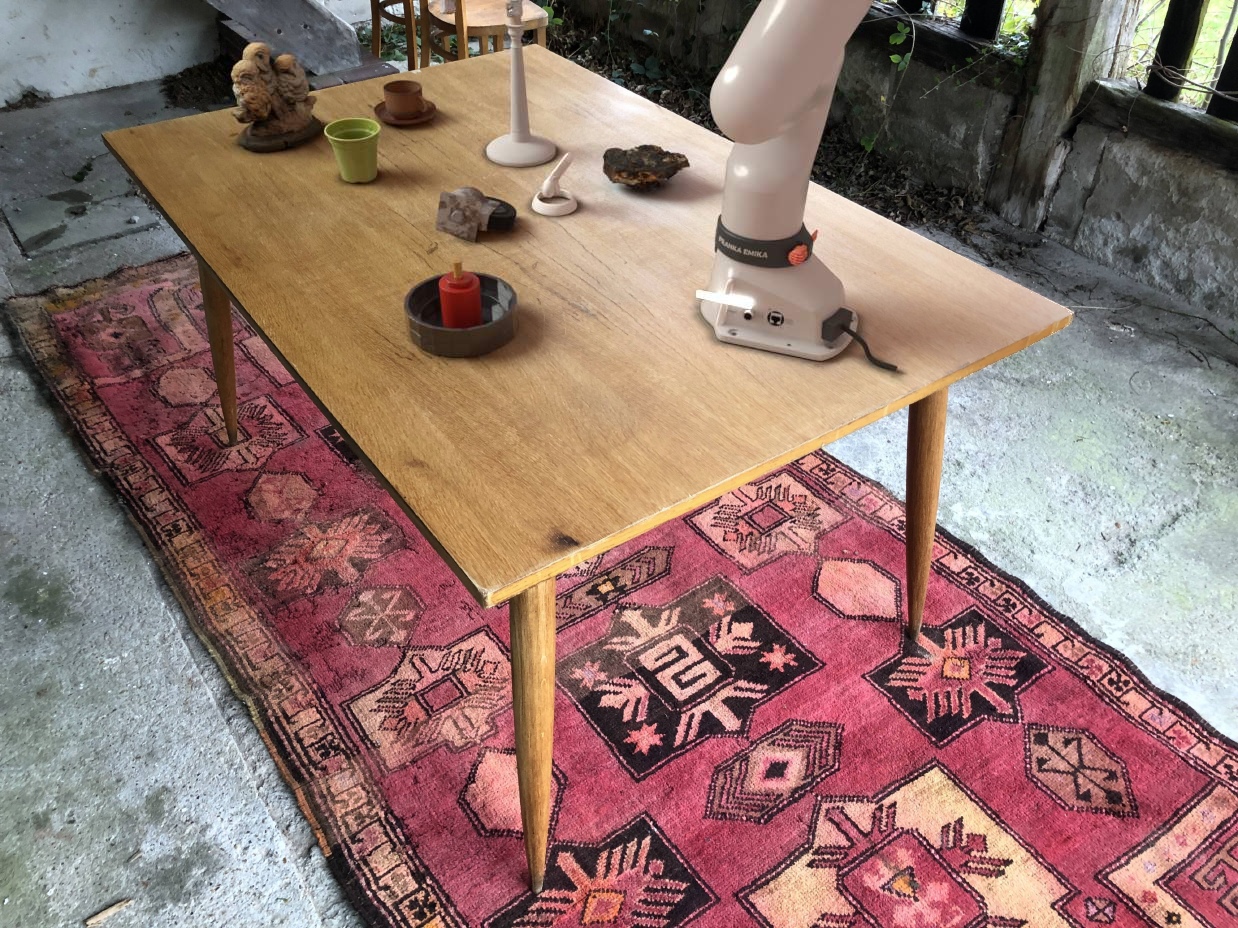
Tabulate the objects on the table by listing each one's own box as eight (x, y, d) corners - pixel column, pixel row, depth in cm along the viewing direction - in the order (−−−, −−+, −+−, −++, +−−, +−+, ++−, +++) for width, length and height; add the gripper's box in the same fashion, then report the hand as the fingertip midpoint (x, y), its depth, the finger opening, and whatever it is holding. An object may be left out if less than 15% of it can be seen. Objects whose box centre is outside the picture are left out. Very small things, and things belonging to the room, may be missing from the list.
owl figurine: (264, 161, 176) (243, 64, 165) (220, 145, 181) (196, 50, 170) (337, 129, 188) (321, 36, 177) (293, 115, 193) (275, 24, 181)
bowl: (539, 321, 139) (538, 290, 135) (475, 374, 129) (472, 343, 125) (453, 291, 144) (450, 261, 141) (385, 340, 134) (380, 309, 131)
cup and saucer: (446, 110, 196) (443, 79, 192) (423, 133, 187) (419, 101, 183) (390, 104, 198) (386, 73, 194) (364, 126, 189) (360, 94, 185)
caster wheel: (517, 232, 164) (500, 252, 155) (453, 211, 164) (433, 230, 155) (525, 194, 160) (509, 213, 152) (459, 173, 160) (440, 190, 152)
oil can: (490, 322, 137) (485, 257, 130) (467, 341, 133) (461, 275, 126) (459, 311, 139) (453, 247, 132) (435, 329, 135) (428, 264, 128)
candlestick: (553, 168, 177) (549, -10, 157) (482, 165, 177) (469, -12, 157) (557, 139, 187) (554, -31, 167) (491, 137, 187) (479, -34, 167)
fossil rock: (625, 208, 165) (626, 175, 162) (592, 176, 175) (592, 144, 171) (696, 195, 170) (699, 163, 166) (660, 164, 179) (662, 133, 176)
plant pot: (398, 174, 174) (391, 126, 168) (360, 193, 168) (352, 144, 162) (359, 161, 177) (352, 113, 172) (321, 179, 171) (312, 131, 166)
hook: (592, 196, 157) (556, 170, 155) (556, 237, 166) (522, 214, 164) (604, 168, 162) (570, 142, 159) (569, 210, 171) (536, 186, 168)
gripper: (401, -123, 113) (414, 6, 117) (554, -104, 124) (562, 14, 127) (382, -107, 118) (395, 16, 122) (530, -90, 129) (539, 23, 132)
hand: (482, 15), depth 125 cm, fingers open, 8 cm apart
